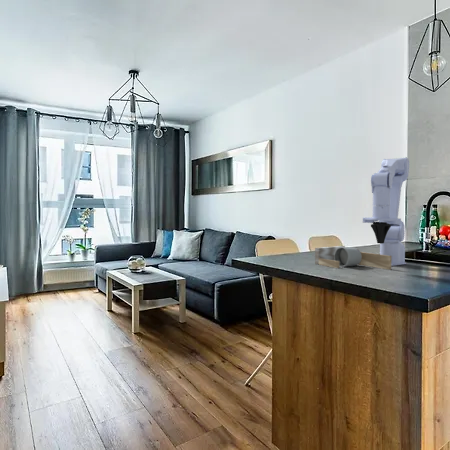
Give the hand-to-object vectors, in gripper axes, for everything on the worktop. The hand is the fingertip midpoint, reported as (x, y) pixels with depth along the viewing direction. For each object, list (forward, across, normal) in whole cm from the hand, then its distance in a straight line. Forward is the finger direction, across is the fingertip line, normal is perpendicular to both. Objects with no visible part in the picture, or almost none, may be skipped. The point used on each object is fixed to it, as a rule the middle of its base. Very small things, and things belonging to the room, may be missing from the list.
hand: (380, 243), depth 131 cm
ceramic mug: (+10, -14, -3) cm, 18 cm away
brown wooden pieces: (+10, -11, -2) cm, 15 cm away
